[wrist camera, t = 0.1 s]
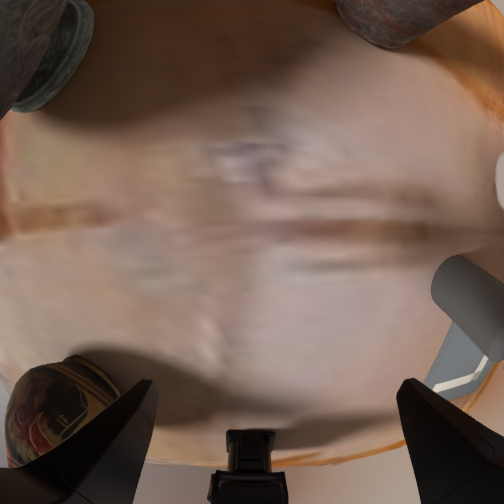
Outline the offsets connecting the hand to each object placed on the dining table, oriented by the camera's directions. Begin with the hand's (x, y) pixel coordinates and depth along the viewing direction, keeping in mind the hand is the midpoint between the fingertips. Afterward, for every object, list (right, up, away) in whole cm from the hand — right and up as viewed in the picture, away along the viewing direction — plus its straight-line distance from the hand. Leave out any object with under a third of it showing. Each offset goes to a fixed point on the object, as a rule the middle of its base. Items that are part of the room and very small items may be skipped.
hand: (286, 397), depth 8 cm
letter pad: (+30, -11, +19) cm, 37 cm away
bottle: (+20, +2, +15) cm, 25 cm away
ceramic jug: (-22, -13, +21) cm, 33 cm away
